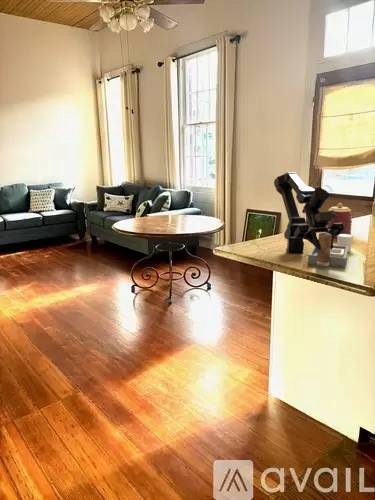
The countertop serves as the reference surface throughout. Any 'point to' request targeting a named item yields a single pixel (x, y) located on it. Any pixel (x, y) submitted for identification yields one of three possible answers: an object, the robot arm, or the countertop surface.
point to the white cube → (345, 240)
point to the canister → (342, 218)
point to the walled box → (331, 256)
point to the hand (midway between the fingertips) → (325, 248)
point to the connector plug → (324, 249)
